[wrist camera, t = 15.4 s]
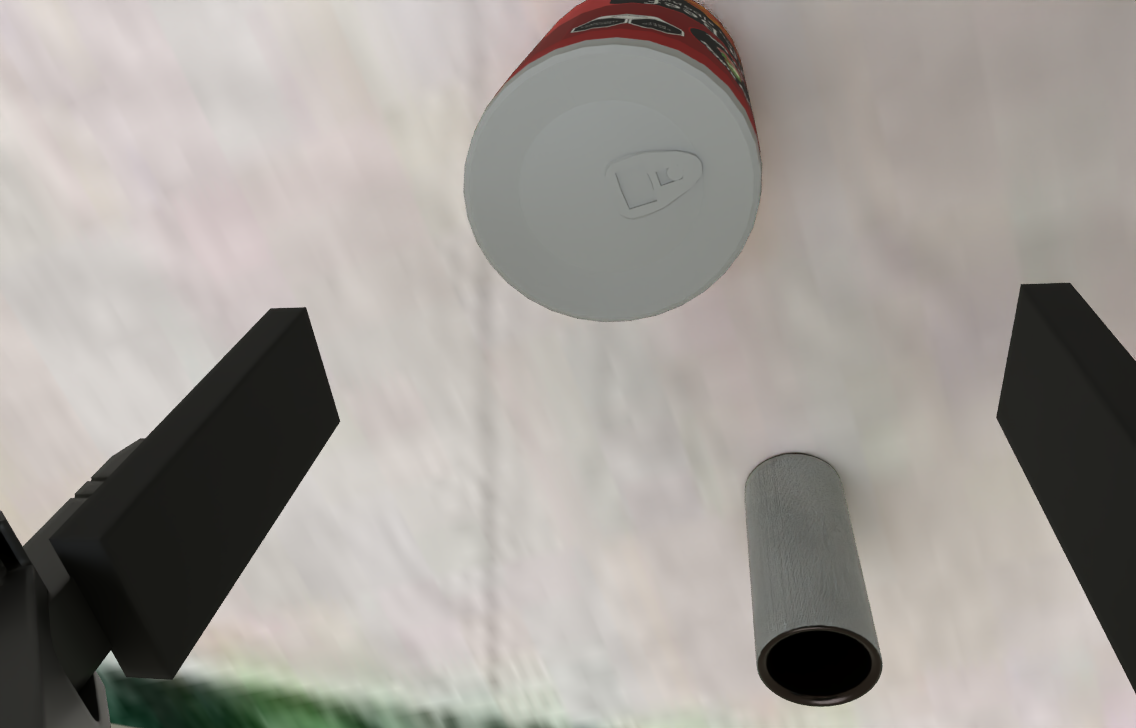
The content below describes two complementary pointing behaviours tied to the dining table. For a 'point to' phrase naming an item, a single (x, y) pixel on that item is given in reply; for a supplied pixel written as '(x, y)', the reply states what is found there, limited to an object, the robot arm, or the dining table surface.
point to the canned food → (618, 162)
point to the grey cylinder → (807, 585)
